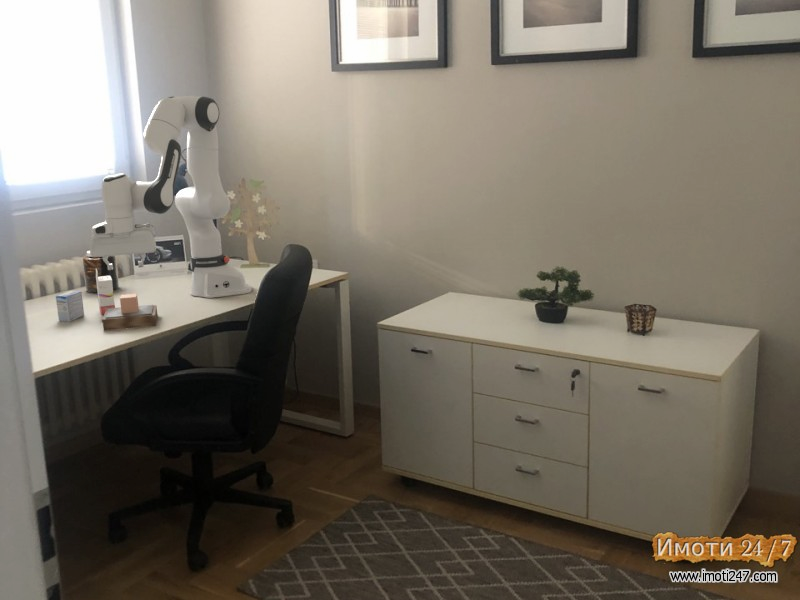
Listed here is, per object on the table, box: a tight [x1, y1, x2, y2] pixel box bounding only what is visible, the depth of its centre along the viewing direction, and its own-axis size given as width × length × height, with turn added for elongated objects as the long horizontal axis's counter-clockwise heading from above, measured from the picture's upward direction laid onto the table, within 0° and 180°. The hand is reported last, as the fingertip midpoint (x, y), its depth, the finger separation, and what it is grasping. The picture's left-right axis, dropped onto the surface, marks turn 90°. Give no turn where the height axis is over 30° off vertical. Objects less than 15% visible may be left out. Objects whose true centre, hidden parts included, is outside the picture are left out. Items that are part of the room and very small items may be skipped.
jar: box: [82, 250, 120, 294], centre depth 324 cm, size 12×12×15 cm
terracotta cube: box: [119, 293, 139, 313], centre depth 274 cm, size 5×5×5 cm
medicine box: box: [55, 290, 85, 323], centre depth 283 cm, size 8×4×9 cm, turn 163°
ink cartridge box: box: [96, 269, 116, 315], centre depth 290 cm, size 9×5×15 cm, turn 23°
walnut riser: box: [101, 304, 158, 332], centre depth 275 cm, size 16×14×4 cm
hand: (125, 268), depth 272 cm, fingers open, 8 cm apart
